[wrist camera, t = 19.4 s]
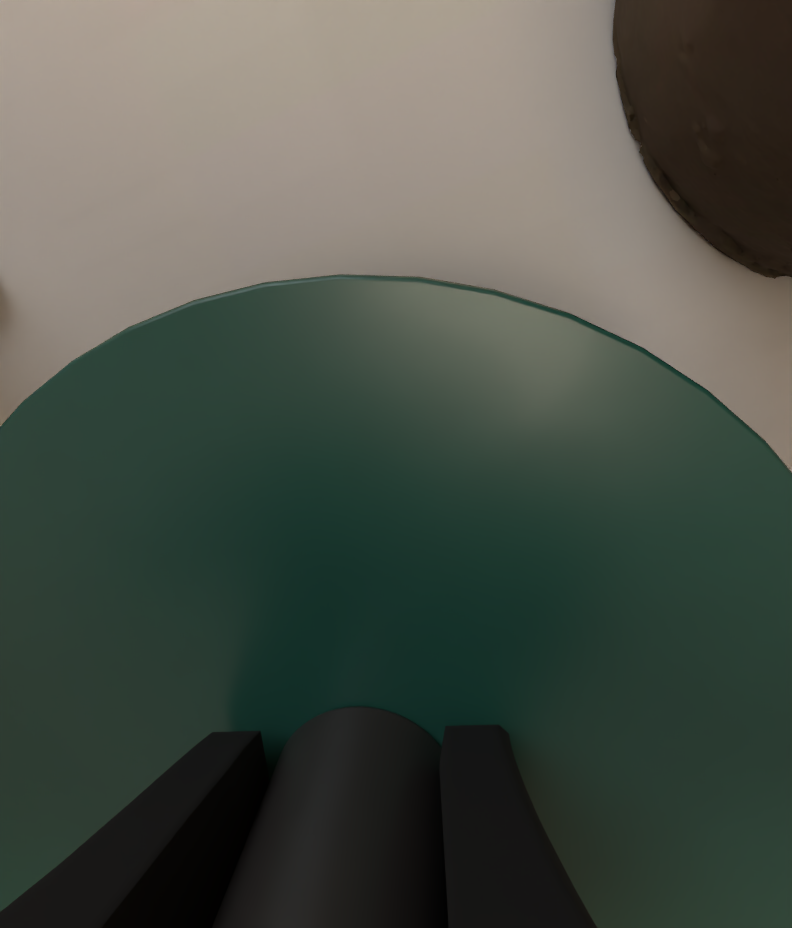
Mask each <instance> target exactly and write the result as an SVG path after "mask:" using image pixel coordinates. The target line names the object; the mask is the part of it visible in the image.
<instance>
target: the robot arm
mask: <svg viewBox="0 0 792 928" xmlns="http://www.w3.org/2000/svg"><path fill="white" fill-rule="evenodd" d="M439 770H440V788H441V806H442V823H443V840H444V857H445V874H446V891H447V908H448V925H449V928H597V926H596V925H595V923H594V921H593V920H592V918H591V916H590V914H589V913H588V911H587V909H586V907H585V905H584V904H583V902H582V900H581V898H580V897H579V895H578V893H577V891H576V889H575V888H574V886H573V884H572V882H571V880H570V878H569V876H568V874H567V872H566V870H565V868H564V867H563V865H562V863H561V861H560V859H559V857H558V855H557V853H556V851H555V849H554V847H553V845H552V843H551V841H550V840H549V838H548V836H547V834H546V832H545V830H544V827H543V825H542V823H541V821H540V819H539V817H538V815H537V813H536V810H535V808H534V806H533V803H532V801H531V799H530V796H529V794H528V792H527V789H526V787H525V785H524V782H523V780H522V777H521V774H520V772H519V769H518V766H517V763H516V760H515V757H514V754H513V750H512V747H511V743H510V737H509V733H508V732H507V731H506V730H504V729H503V728H502V727H501V726H500V725H499V724H498V725H460V726H445V730H444V736H443V742H442V749H441V757H440V765H439ZM269 782H270V781H269V775H268V769H267V764H266V758H265V753H264V747H263V741H262V736H261V731H230V732H212V733H210V734H209V735H208V736H207V737H205V738H204V739H203V740H201V741H200V742H199V743H198V744H197V745H195V746H194V747H193V748H192V749H191V750H189V751H188V752H187V753H186V754H185V755H184V756H182V757H181V758H180V759H179V760H178V761H177V762H176V763H174V764H173V765H172V766H171V767H170V768H169V769H168V770H166V771H165V772H164V773H163V774H162V775H161V776H160V777H159V778H157V779H156V780H155V781H154V782H153V783H152V784H151V785H150V786H148V787H147V788H146V789H145V790H144V791H143V792H142V793H141V794H139V795H138V796H137V797H136V798H135V799H134V800H133V801H131V802H130V803H129V804H128V805H127V806H126V807H125V808H123V809H122V810H121V811H120V812H119V813H118V814H117V815H115V816H114V817H113V818H112V819H111V820H110V821H109V822H107V823H106V824H105V825H104V826H103V827H102V828H100V829H99V830H98V831H97V832H96V833H95V834H94V835H92V836H91V837H90V838H89V839H88V840H87V841H85V842H84V843H83V844H82V845H81V846H80V847H79V848H77V849H76V850H75V851H74V852H73V853H72V854H71V855H69V856H68V857H67V858H66V859H65V860H64V861H62V862H61V863H60V864H59V865H58V866H56V867H55V868H54V869H53V870H51V871H50V872H49V873H48V874H46V875H45V876H44V877H43V878H42V879H40V880H39V881H38V882H37V883H35V884H34V885H33V886H32V887H30V888H29V889H28V890H27V891H25V892H24V893H23V894H22V895H21V896H19V897H18V898H17V899H16V900H14V901H13V902H12V903H11V904H9V905H8V906H7V907H6V908H4V909H3V910H2V911H1V912H0V928H212V926H213V923H214V921H215V918H216V916H217V913H218V911H219V908H220V906H221V903H222V900H223V898H224V895H225V893H226V890H227V888H228V885H229V883H230V880H231V878H232V875H233V873H234V870H235V868H236V865H237V863H238V860H239V858H240V855H241V853H242V850H243V848H244V845H245V843H246V840H247V837H248V835H249V832H250V830H251V827H252V825H253V822H254V820H255V817H256V815H257V812H258V810H259V807H260V805H261V802H262V800H263V797H264V795H265V792H266V790H267V787H268V785H269Z"/></svg>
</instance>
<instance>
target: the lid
mask: <svg viewBox="0 0 792 928" xmlns="http://www.w3.org/2000/svg"><path fill="white" fill-rule="evenodd" d="M498 724H499V725H500V726H501V727H502V728H503V729H504V730H506V731H507V732H508V733H509V737H510V743H511V747H512V750H513V754H514V757H515V760H516V763H517V766H518V769H519V772H520V774H521V777H522V780H523V782H524V785H525V787H526V789H527V792H528V794H529V796H530V799H531V801H532V803H533V806H534V808H535V810H536V813H537V815H538V817H539V819H540V821H541V823H542V825H543V827H544V830H545V832H546V834H547V836H548V838H549V840H550V841H551V843H552V845H553V847H554V849H555V851H556V853H557V855H558V857H559V859H560V861H561V863H562V865H563V867H564V868H565V870H566V872H567V874H568V876H569V878H570V880H571V882H572V884H573V886H574V888H575V889H576V891H577V893H578V895H579V897H580V898H581V900H582V902H583V904H584V905H585V907H586V909H587V911H588V913H589V914H590V916H591V918H592V920H593V921H594V923H595V925H596V926H597V928H792V472H791V471H790V470H789V469H788V467H787V466H786V465H785V464H784V463H783V461H782V460H781V459H780V458H779V457H778V456H777V454H776V453H775V452H774V451H773V450H772V448H771V447H770V446H769V445H768V444H767V443H766V441H765V440H764V439H763V438H761V437H760V436H759V435H758V434H757V433H756V432H755V431H753V430H752V429H751V428H750V427H749V426H748V425H747V424H745V423H744V422H743V421H742V420H741V419H740V418H739V417H738V416H736V415H735V414H734V413H733V412H732V411H731V410H730V409H728V408H727V407H726V406H725V405H724V404H723V403H722V402H720V401H719V400H718V399H717V398H716V397H715V396H714V395H712V394H711V393H710V392H709V391H708V390H706V389H705V388H703V387H702V386H700V385H699V384H697V383H696V382H694V381H693V380H691V379H690V378H688V377H687V376H685V375H684V374H682V373H681V372H679V371H677V370H676V369H674V368H673V367H671V366H670V365H668V364H667V363H665V362H664V361H662V360H661V359H659V358H658V357H656V356H655V355H653V354H651V353H650V352H648V351H647V350H645V349H644V348H642V347H640V346H638V345H636V344H634V343H632V342H629V341H627V340H625V339H623V338H621V337H619V336H617V335H615V334H612V333H610V332H608V331H606V330H604V329H602V328H600V327H598V326H595V325H593V324H591V323H589V322H587V321H585V320H583V319H581V318H579V317H576V316H574V315H572V314H570V313H567V312H564V311H561V310H558V309H555V308H551V307H548V306H545V305H542V304H539V303H536V302H532V301H529V300H526V299H523V298H520V297H516V296H513V295H510V294H507V293H504V292H500V291H497V290H494V289H488V288H482V287H476V286H471V285H465V284H459V283H453V282H447V281H441V280H435V279H429V278H424V277H406V276H375V275H331V276H321V277H312V278H302V279H293V280H283V281H274V282H265V283H261V284H257V285H253V286H249V287H245V288H241V289H237V290H233V291H229V292H225V293H221V294H217V295H213V296H209V297H205V298H201V299H197V300H193V301H191V302H188V303H186V304H184V305H181V306H179V307H176V308H174V309H171V310H169V311H167V312H164V313H162V314H159V315H157V316H154V317H152V318H150V319H147V320H145V321H142V322H140V323H137V324H135V325H132V326H130V327H128V328H126V329H125V330H123V331H121V332H120V333H118V334H116V335H115V336H113V337H111V338H110V339H108V340H106V341H105V342H103V343H101V344H100V345H98V346H96V347H95V348H93V349H91V350H90V351H88V352H86V353H85V354H83V355H81V356H80V357H78V358H76V359H75V360H73V361H71V362H70V363H69V364H68V365H67V366H65V367H64V368H63V369H62V370H60V371H59V372H58V373H57V374H56V375H54V376H53V377H52V378H51V379H50V380H48V381H47V382H46V383H45V384H44V385H42V386H41V387H40V388H39V389H37V390H36V391H35V392H34V393H33V394H31V395H30V396H29V397H28V398H27V399H25V400H24V401H23V402H22V403H21V404H20V405H19V406H18V408H17V409H16V410H15V411H14V412H13V413H12V414H11V415H10V417H9V418H8V419H7V420H6V421H5V422H4V423H3V424H2V426H1V427H0V912H1V911H2V910H3V909H4V908H6V907H7V906H8V905H9V904H11V903H12V902H13V901H14V900H16V899H17V898H18V897H19V896H21V895H22V894H23V893H24V892H25V891H27V890H28V889H29V888H30V887H32V886H33V885H34V884H35V883H37V882H38V881H39V880H40V879H42V878H43V877H44V876H45V875H46V874H48V873H49V872H50V871H51V870H53V869H54V868H55V867H56V866H58V865H59V864H60V863H61V862H62V861H64V860H65V859H66V858H67V857H68V856H69V855H71V854H72V853H73V852H74V851H75V850H76V849H77V848H79V847H80V846H81V845H82V844H83V843H84V842H85V841H87V840H88V839H89V838H90V837H91V836H92V835H94V834H95V833H96V832H97V831H98V830H99V829H100V828H102V827H103V826H104V825H105V824H106V823H107V822H109V821H110V820H111V819H112V818H113V817H114V816H115V815H117V814H118V813H119V812H120V811H121V810H122V809H123V808H125V807H126V806H127V805H128V804H129V803H130V802H131V801H133V800H134V799H135V798H136V797H137V796H138V795H139V794H141V793H142V792H143V791H144V790H145V789H146V788H147V787H148V786H150V785H151V784H152V783H153V782H154V781H155V780H156V779H157V778H159V777H160V776H161V775H162V774H163V773H164V772H165V771H166V770H168V769H169V768H170V767H171V766H172V765H173V764H174V763H176V762H177V761H178V760H179V759H180V758H181V757H182V756H184V755H185V754H186V753H187V752H188V751H189V750H191V749H192V748H193V747H194V746H195V745H197V744H198V743H199V742H200V741H201V740H203V739H204V738H205V737H207V736H208V735H209V734H210V733H212V732H230V731H261V736H262V741H263V747H264V753H265V758H266V764H267V769H268V775H269V781H270V782H269V785H268V787H267V790H266V792H265V795H264V797H263V800H262V802H261V805H260V807H259V810H258V812H257V815H256V817H255V820H254V822H253V825H252V827H251V830H250V832H249V835H248V837H247V840H246V843H245V845H244V848H243V850H242V853H241V855H240V858H239V860H238V863H237V865H236V868H235V870H234V873H233V875H232V878H231V880H230V883H229V885H228V888H227V890H226V893H225V895H224V898H223V900H222V903H221V906H220V908H219V911H218V913H217V916H216V918H215V921H214V923H213V926H212V928H449V925H448V908H447V891H446V874H445V857H444V840H443V823H442V806H441V788H440V770H439V765H440V757H441V749H442V742H443V736H444V730H445V726H460V725H498Z"/></svg>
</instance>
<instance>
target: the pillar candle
mask: <svg viewBox="0 0 792 928" xmlns="http://www.w3.org/2000/svg"><path fill="white" fill-rule="evenodd" d="M613 44H614V54H615V56H616V58H617V70H616V77H617V81H618V85H619V89H620V94H621V98H622V102H623V106H624V109H625V113H626V117H627V120H628V125H629V129H630V130H631V133H632V135H633V136H634V137H635V140H637V141H639V142H640V143H641V145H642V146H641V148H640V151H639V152H640V154H641V155H642V156H643V157H644V163H645V165H646V167H647V169H648V170H649V172H650V174H651V175H652V177H653V179H654V181H655V182H656V183H657V185H658V186H659V187H660V188H661V190H662V191H663V192H664V194H665V195H666V197H667V198H668V200H669V201H670V203H671V204H672V206H673V207H674V208H675V209H676V211H677V212H678V213H679V214H681V215H682V216H683V217H684V218H685V219H686V220H687V221H688V222H689V223H690V224H691V225H692V226H693V227H694V229H695V230H697V231H698V232H700V233H701V234H702V235H703V236H704V238H706V239H707V240H708V241H709V242H710V243H711V244H712V245H714V246H715V247H716V248H718V249H719V250H720V251H722V252H723V253H725V254H726V255H728V256H729V257H731V258H733V259H734V260H736V261H738V262H739V263H741V264H743V265H746V266H747V267H748V268H750V269H751V270H752V271H754V272H757V273H760V274H762V275H764V276H766V277H772V278H777V277H780V276H790V277H792V0H616V3H615V12H614V25H613Z"/></svg>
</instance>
